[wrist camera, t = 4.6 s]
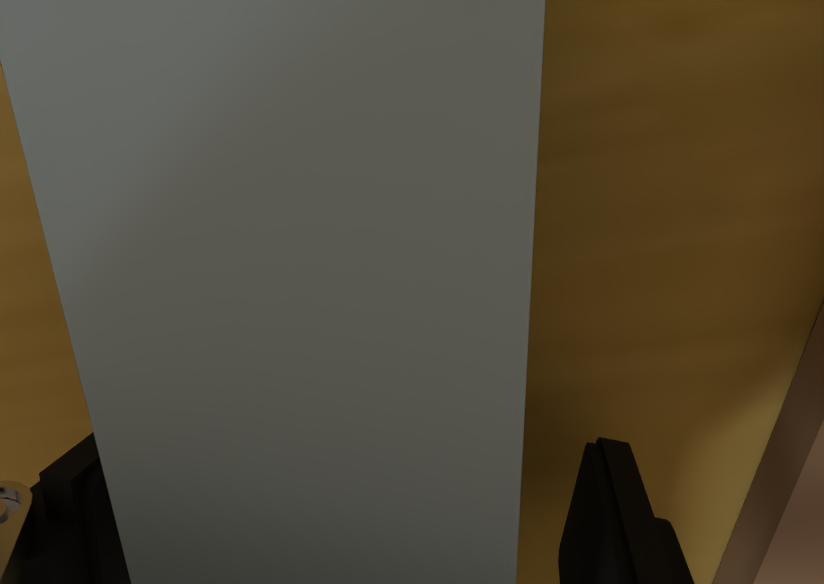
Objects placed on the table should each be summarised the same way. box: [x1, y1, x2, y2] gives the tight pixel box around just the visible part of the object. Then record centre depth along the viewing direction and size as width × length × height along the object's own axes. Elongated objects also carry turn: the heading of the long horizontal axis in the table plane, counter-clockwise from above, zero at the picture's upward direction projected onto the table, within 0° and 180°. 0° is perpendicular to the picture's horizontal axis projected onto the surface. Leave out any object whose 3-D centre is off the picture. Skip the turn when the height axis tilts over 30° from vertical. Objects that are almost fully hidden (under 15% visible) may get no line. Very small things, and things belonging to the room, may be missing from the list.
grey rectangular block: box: [0, 0, 545, 584], centre depth 10 cm, size 20×5×6 cm, turn 1°
